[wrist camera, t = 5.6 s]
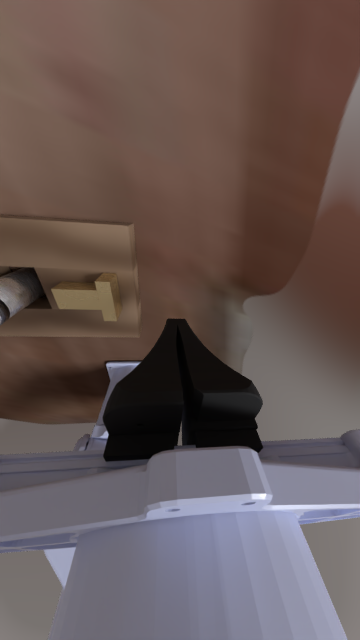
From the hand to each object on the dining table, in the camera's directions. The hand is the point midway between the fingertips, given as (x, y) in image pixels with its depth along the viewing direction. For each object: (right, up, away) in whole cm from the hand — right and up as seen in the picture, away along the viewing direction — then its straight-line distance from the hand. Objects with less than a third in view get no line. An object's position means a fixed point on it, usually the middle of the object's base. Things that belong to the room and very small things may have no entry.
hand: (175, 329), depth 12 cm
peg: (-15, +5, +6) cm, 17 cm away
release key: (-8, +4, +4) cm, 10 cm away
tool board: (-16, +5, +6) cm, 18 cm away
